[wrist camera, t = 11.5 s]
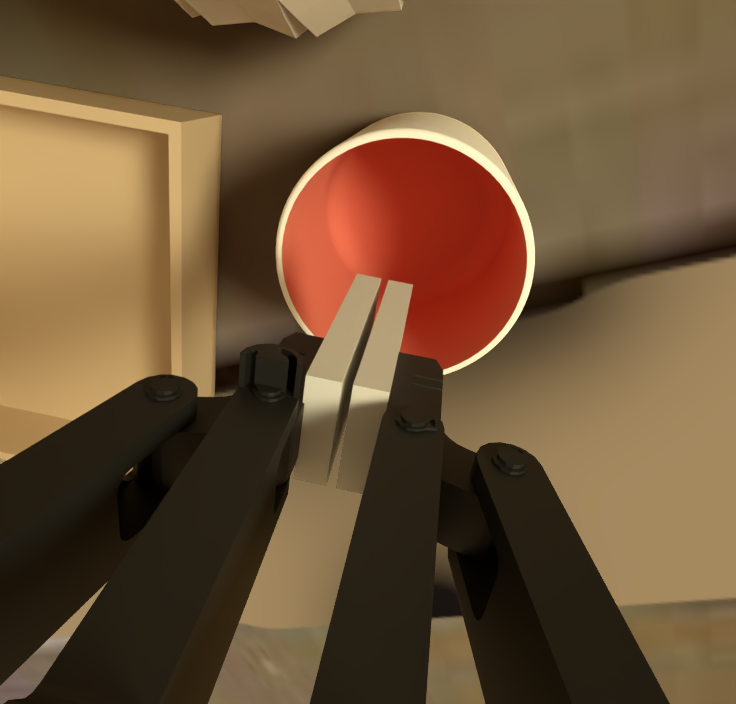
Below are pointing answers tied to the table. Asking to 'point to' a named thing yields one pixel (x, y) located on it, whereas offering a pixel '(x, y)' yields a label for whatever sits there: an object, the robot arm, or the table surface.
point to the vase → (286, 12)
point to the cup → (411, 235)
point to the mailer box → (101, 251)
